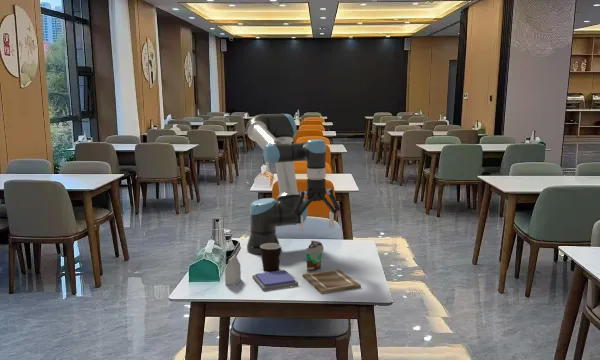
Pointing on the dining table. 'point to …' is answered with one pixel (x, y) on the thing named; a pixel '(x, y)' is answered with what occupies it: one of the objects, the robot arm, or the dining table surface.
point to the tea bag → (232, 271)
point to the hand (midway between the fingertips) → (316, 229)
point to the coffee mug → (270, 256)
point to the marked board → (331, 281)
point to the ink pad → (274, 280)
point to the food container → (314, 256)
